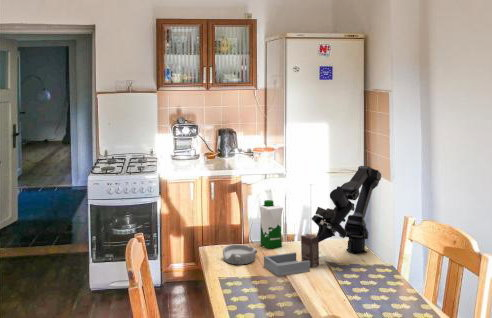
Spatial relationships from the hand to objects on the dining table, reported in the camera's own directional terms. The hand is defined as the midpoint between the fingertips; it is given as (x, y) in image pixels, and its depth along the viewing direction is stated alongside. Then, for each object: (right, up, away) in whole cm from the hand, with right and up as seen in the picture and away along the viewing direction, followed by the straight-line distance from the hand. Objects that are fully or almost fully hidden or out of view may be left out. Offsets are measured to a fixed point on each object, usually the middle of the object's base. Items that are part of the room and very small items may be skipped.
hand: (315, 242), depth 224 cm
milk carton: (-16, -6, +27) cm, 32 cm away
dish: (-30, -9, +8) cm, 32 cm away
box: (-2, -9, +1) cm, 9 cm away
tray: (-11, -10, -3) cm, 15 cm away
